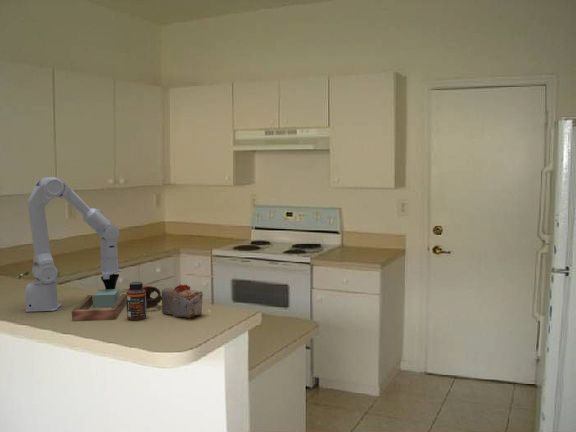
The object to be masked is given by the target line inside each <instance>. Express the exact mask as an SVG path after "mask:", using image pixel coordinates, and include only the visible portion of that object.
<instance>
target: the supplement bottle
mask: <svg viewBox="0 0 576 432" xmlns="http://www.w3.org/2000/svg"><path fill="white" fill-rule="evenodd" d="M143 283H144V282H142V281H131V282H129V285H128V286H129V288H128V289H127V290H126V293H125V294H126V297H127V303H126V319H128V320H131V321H140V320H143V319H146V318H147V309H146V290H145V289H143V287H144V286H143Z"/></svg>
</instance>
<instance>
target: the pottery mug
mask: <svg viewBox="0 0 576 432" xmlns="http://www.w3.org/2000/svg"><path fill="white" fill-rule="evenodd" d="M143 289H145V290H146V310H147V309H150V308H153V307H156V306H158V305H159V304H160V303H161V302H162V292H161V290H160V289H159V288H157V287H155V286H152V285H145V286H143ZM154 292H156V293H157V296H156V297H154V298H153V297H151V295H152V294H153V293H154Z"/></svg>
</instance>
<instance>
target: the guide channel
mask: <svg viewBox="0 0 576 432" xmlns="http://www.w3.org/2000/svg"><path fill="white" fill-rule="evenodd" d="M93 295H94V294H93ZM93 295H92V294H91V295H89V294H88V295H87V296H86V297H85V298H84V299H82V301H81V302H80V303H78V305H76V307H74V309H72V311H71V321H72V322H77V321H106V320H116V319H117V318H118V316H119V314H121V311H122V310H123V309H124V308H125V306H127V297H126V293H122V294H121V295H120V298H119V299H118V300H117V302H116V303H115V304H114V305H113V307H110V308H95V309H94V308H93V309H90V307H92V306H93V305H94V298H93ZM87 309H88V310H87Z"/></svg>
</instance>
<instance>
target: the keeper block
mask: <svg viewBox="0 0 576 432" xmlns="http://www.w3.org/2000/svg"><path fill="white" fill-rule="evenodd" d="M120 296H121V295H120V288H115V289H106V288H104V289H103V288H101V289H98V290H97V291H95V293H94V294H93V308H94V307H99V308H112V307H113V305H114V304H115V303H116V302H117V300H118V299H119V298H120Z"/></svg>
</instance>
